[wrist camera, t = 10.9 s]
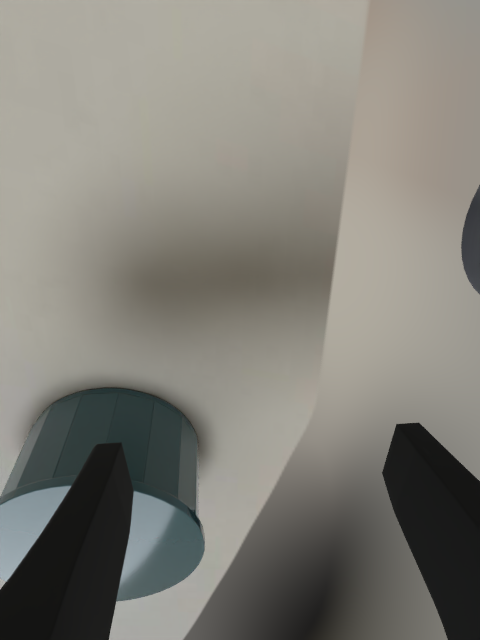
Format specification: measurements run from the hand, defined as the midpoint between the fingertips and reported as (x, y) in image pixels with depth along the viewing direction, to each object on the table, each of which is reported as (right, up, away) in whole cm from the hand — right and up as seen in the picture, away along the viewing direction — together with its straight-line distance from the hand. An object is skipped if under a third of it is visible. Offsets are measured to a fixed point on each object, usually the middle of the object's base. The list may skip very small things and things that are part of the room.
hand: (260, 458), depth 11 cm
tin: (-8, -4, +15) cm, 17 cm away
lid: (-8, -7, +10) cm, 14 cm away
